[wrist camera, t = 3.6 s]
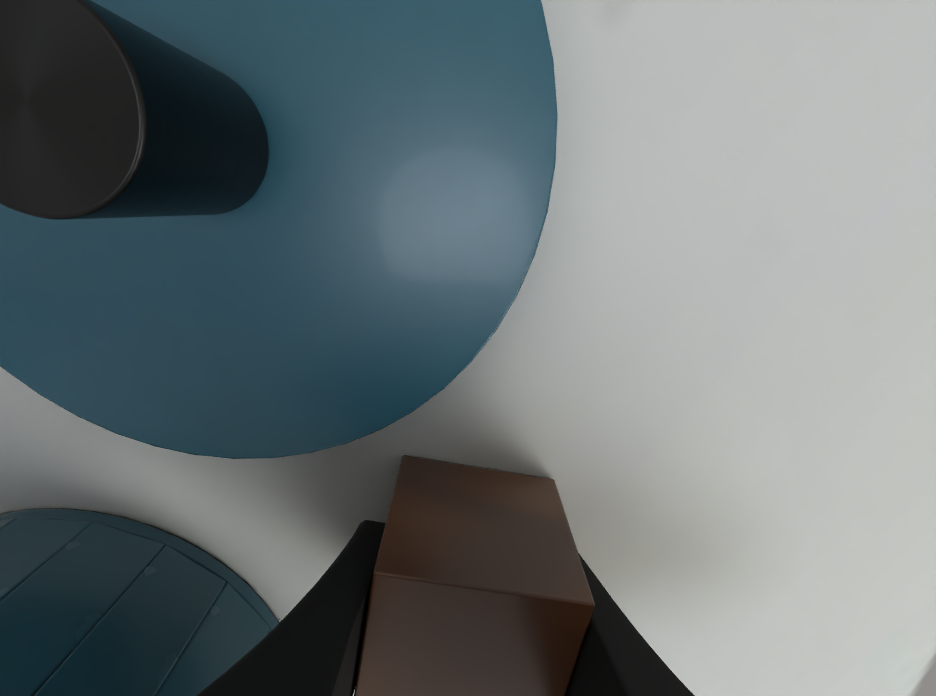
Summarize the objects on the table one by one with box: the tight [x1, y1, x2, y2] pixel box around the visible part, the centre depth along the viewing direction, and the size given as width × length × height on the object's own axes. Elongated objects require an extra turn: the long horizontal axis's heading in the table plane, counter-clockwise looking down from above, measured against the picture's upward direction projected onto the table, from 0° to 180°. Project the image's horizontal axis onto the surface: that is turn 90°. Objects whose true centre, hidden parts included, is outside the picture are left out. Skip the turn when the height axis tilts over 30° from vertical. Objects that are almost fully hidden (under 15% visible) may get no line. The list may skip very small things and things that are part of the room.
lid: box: [0, 0, 557, 459], centre depth 7 cm, size 13×13×5 cm
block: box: [354, 456, 595, 696], centre depth 11 cm, size 4×4×4 cm
